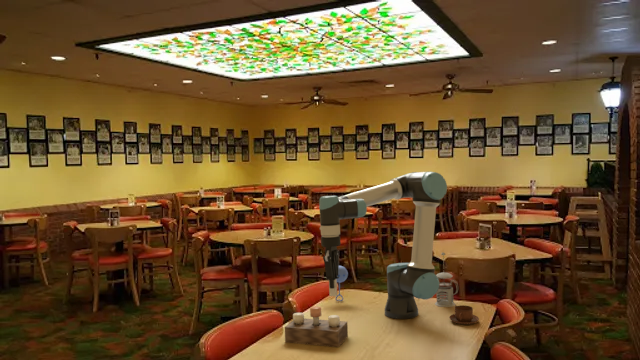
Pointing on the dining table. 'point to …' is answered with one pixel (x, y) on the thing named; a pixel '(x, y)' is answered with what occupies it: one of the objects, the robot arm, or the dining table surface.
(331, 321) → the knob near
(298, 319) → the knob far
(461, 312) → the cup and saucer
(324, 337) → the knob console
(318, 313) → the knob middle
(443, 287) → the french press
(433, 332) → the dining table surface
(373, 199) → the robot arm
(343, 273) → the baby rattle
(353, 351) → the dining table surface
